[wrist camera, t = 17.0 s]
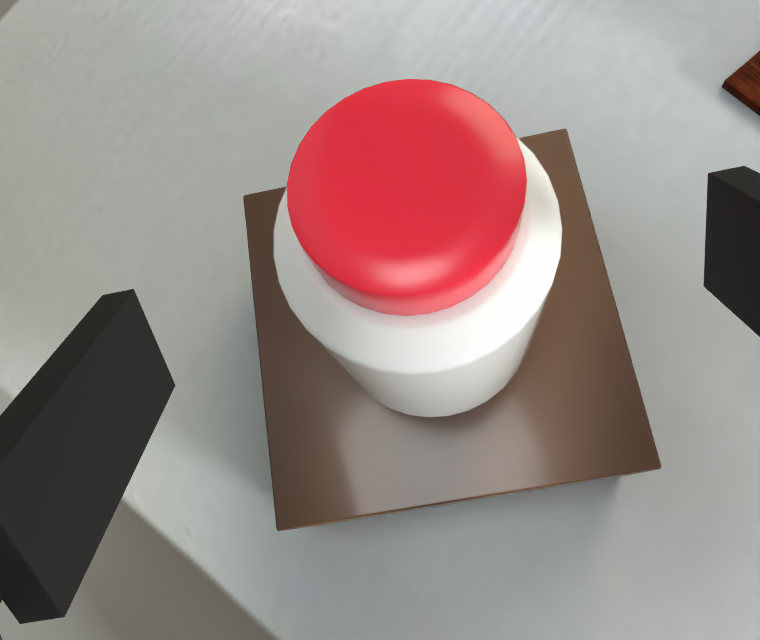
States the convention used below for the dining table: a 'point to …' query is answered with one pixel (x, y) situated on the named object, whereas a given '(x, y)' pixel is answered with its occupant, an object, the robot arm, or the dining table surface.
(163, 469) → the dining table surface
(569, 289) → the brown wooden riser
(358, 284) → the pill bottle
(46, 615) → the robot arm
